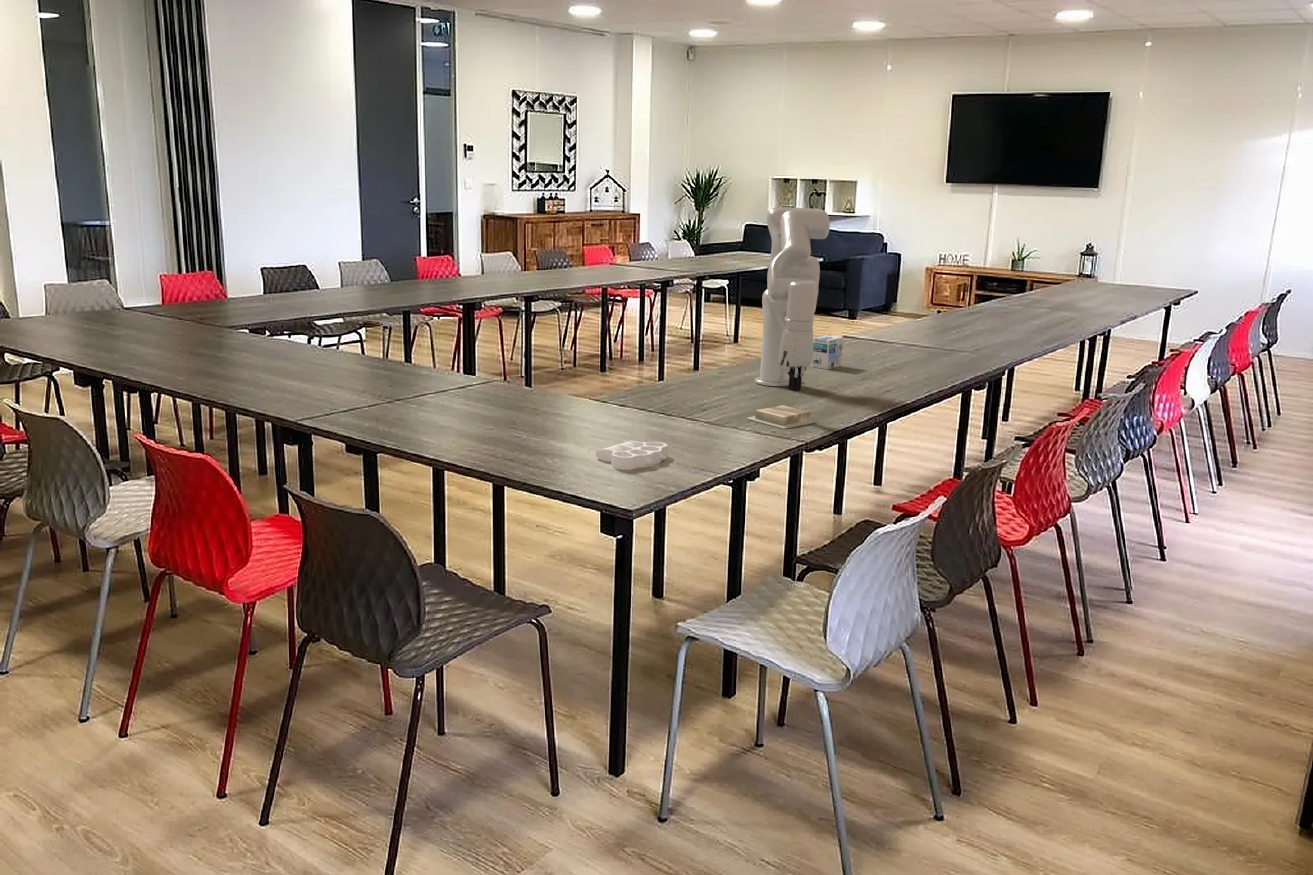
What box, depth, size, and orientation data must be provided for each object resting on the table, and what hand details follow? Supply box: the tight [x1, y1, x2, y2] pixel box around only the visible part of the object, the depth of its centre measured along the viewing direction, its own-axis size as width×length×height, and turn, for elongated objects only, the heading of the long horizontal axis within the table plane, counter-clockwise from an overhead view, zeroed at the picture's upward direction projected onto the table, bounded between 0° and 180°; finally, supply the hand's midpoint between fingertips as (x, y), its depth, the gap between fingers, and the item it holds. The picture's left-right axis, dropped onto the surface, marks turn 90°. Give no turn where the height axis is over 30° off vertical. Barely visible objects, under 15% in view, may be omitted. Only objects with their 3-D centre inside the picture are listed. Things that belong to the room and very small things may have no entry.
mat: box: [745, 416, 815, 430], centre depth 298 cm, size 13×14×1 cm
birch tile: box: [755, 404, 812, 426], centre depth 299 cm, size 2×10×12 cm
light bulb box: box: [811, 334, 844, 370], centre depth 383 cm, size 11×7×11 cm, turn 143°
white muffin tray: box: [595, 440, 669, 471], centre depth 253 cm, size 3×18×15 cm
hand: (794, 390), depth 300 cm, fingers closed
